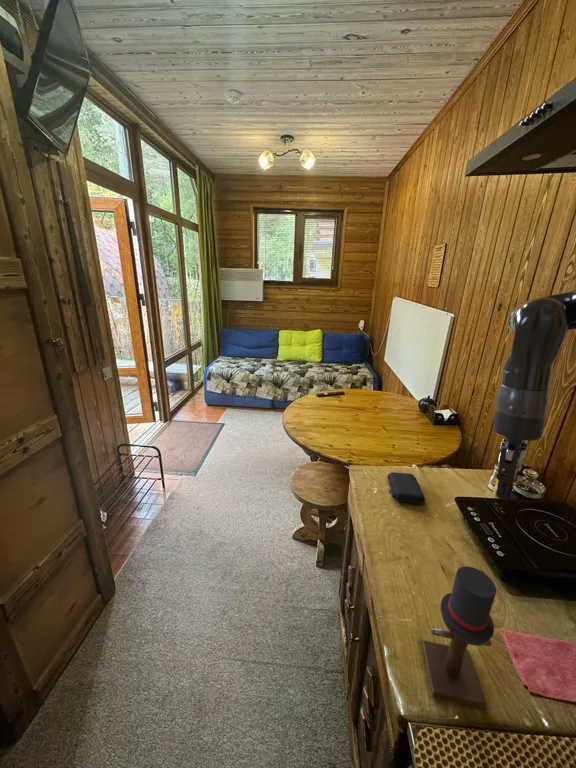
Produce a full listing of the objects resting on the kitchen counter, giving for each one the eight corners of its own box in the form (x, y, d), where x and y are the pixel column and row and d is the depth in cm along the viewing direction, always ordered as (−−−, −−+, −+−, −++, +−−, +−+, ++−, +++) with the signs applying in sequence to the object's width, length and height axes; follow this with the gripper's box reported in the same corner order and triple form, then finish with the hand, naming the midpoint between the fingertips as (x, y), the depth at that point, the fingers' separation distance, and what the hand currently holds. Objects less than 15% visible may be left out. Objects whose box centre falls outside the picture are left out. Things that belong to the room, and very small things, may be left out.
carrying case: (383, 476, 111) (390, 503, 97) (384, 469, 110) (391, 495, 96) (413, 479, 110) (425, 507, 96) (415, 471, 109) (427, 499, 95)
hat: (492, 610, 52) (503, 574, 49) (493, 654, 45) (506, 615, 43) (442, 587, 55) (450, 553, 53) (437, 625, 49) (446, 588, 47)
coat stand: (470, 654, 58) (487, 600, 53) (488, 709, 50) (509, 651, 46) (418, 643, 59) (429, 589, 55) (427, 695, 52) (442, 637, 47)
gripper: (543, 424, 49) (526, 513, 53) (548, 405, 60) (534, 481, 63) (489, 414, 54) (476, 496, 58) (502, 398, 65) (491, 469, 68)
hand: (506, 488), depth 60 cm, fingers open, 8 cm apart
